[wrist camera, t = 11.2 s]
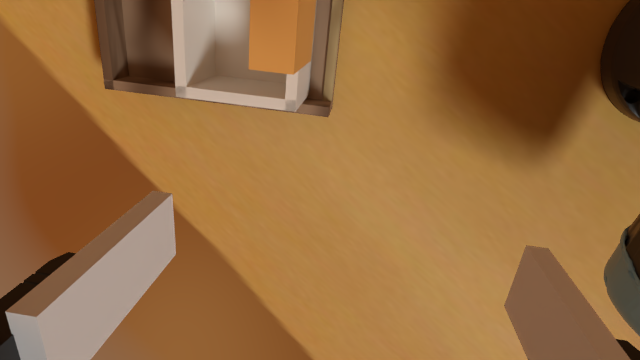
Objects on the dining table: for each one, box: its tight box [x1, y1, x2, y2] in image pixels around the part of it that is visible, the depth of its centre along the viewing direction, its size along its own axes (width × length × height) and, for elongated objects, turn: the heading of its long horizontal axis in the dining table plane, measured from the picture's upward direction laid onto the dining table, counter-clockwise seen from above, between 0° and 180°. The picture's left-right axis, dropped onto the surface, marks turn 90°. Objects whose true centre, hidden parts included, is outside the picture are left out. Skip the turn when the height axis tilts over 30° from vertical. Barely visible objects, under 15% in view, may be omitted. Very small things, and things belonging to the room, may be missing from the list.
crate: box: [171, 0, 317, 112], centre depth 32 cm, size 12×15×16 cm
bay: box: [94, 0, 344, 117], centre depth 39 cm, size 24×18×4 cm
